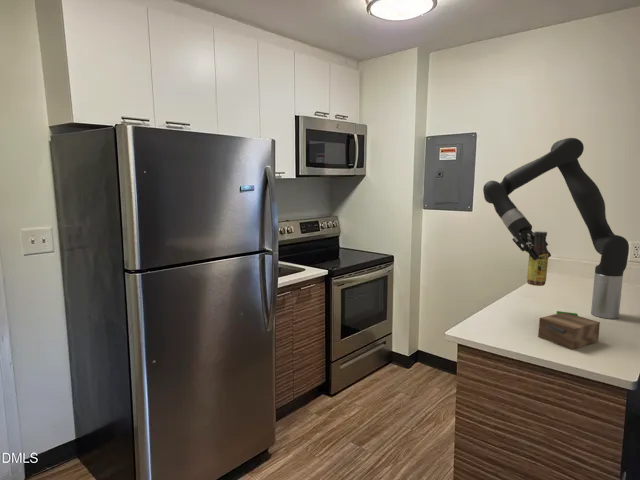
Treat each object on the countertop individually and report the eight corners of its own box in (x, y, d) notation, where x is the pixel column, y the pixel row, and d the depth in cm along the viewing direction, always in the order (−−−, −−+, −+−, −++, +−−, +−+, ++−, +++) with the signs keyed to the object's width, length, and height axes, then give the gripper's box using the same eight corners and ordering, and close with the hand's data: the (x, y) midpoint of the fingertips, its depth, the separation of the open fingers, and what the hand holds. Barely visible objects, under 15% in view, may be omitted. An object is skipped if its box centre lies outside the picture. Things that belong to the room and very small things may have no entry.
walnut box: (562, 330, 146) (564, 312, 145) (598, 342, 135) (599, 322, 134) (536, 337, 139) (538, 318, 138) (571, 350, 128) (573, 329, 127)
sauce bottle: (538, 287, 144) (542, 233, 141) (522, 283, 150) (526, 231, 147) (549, 285, 147) (554, 231, 144) (534, 281, 153) (537, 230, 150)
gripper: (509, 217, 148) (537, 253, 139) (535, 215, 155) (563, 250, 146) (497, 230, 154) (522, 265, 145) (522, 228, 160) (548, 262, 151)
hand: (542, 257), depth 145 cm, fingers closed on sauce bottle, 6 cm apart
